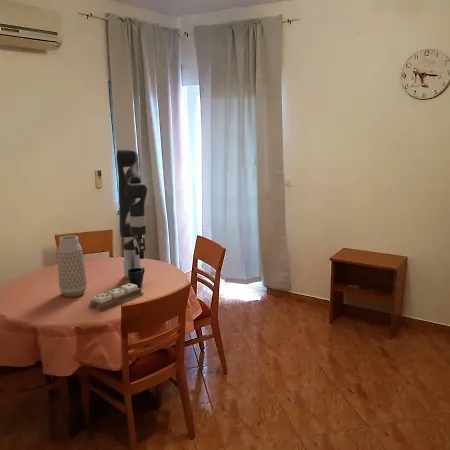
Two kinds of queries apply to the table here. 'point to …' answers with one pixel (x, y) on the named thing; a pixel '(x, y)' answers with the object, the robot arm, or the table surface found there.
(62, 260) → the vase
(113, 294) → the tile two
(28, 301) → the table surface
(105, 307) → the board
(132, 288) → the tile one
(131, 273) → the mug
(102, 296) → the tile three
